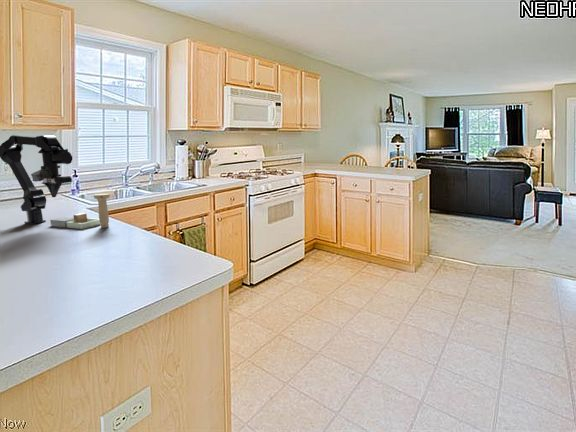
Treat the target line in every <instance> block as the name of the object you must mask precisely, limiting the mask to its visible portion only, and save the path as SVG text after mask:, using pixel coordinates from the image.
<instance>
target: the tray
mask: <svg viewBox="0 0 576 432" xmlns="http://www.w3.org/2000/svg"><path fill="white" fill-rule="evenodd" d="M97 226H101V224H100V220H99V218H90V217H89V218H88V217H87V222H86V223H74V221H69V222H67V227H66V228H68V229H69V228H70V229H77V230H85V229H88V228H89V229H90V228H92V227H97Z"/></svg>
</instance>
